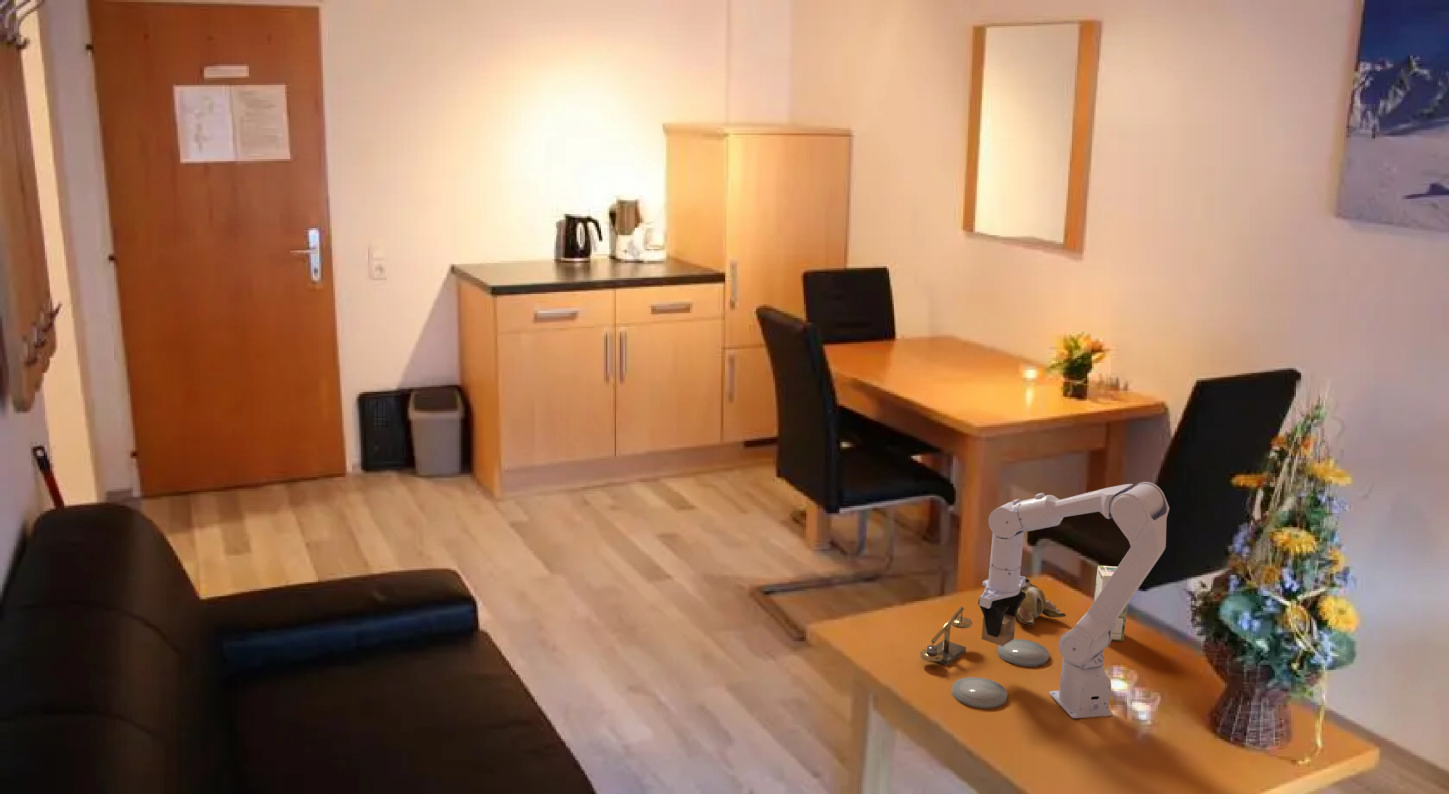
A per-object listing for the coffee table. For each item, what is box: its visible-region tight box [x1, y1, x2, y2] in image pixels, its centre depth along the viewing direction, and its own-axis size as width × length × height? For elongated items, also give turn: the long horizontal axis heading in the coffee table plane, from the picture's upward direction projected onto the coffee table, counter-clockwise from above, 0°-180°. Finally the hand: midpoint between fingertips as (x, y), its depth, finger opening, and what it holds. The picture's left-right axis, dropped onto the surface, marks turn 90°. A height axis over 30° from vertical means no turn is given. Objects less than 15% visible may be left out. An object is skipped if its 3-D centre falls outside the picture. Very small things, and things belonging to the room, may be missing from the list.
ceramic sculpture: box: [1015, 578, 1067, 626], centre depth 256 cm, size 11×9×15 cm
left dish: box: [951, 676, 1008, 709], centre depth 221 cm, size 10×10×1 cm
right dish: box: [996, 638, 1050, 667], centre depth 238 cm, size 10×10×1 cm
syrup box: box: [1092, 565, 1129, 642], centre depth 246 cm, size 6×6×14 cm
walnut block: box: [981, 614, 1017, 646], centre depth 228 cm, size 4×4×4 cm
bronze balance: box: [919, 606, 973, 666], centre depth 236 cm, size 16×5×8 cm, turn 141°
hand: (999, 631), depth 228 cm, fingers closed on walnut block, 4 cm apart
